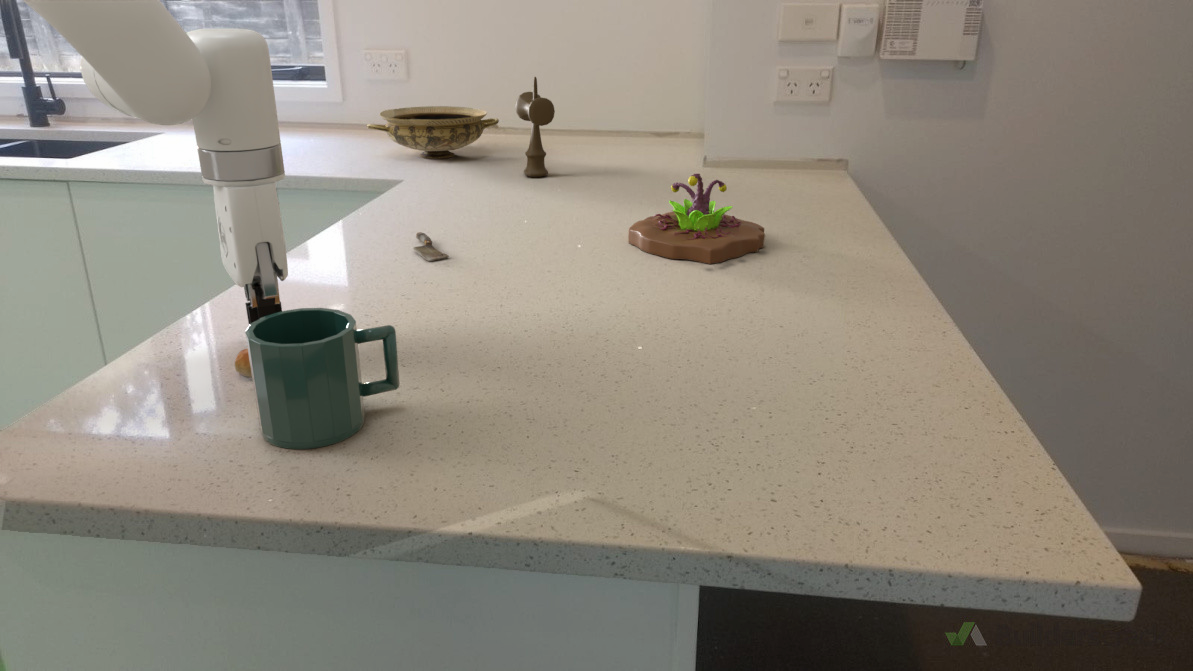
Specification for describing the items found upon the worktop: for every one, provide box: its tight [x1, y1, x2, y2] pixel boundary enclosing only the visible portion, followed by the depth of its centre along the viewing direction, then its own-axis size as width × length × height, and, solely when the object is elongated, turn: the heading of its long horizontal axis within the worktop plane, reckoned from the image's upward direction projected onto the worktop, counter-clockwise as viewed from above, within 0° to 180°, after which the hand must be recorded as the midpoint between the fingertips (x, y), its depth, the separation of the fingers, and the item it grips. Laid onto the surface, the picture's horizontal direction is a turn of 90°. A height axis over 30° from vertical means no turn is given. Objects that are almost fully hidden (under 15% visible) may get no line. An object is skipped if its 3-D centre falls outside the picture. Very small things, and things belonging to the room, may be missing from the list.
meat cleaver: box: [412, 231, 449, 262], centre depth 125 cm, size 12×1×5 cm
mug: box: [244, 307, 401, 450], centre depth 74 cm, size 12×9×10 cm
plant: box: [627, 173, 766, 265], centre depth 129 cm, size 20×20×11 cm
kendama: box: [515, 76, 556, 178], centre depth 172 cm, size 6×10×20 cm, turn 21°
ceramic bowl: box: [366, 105, 499, 159], centre depth 192 cm, size 30×24×10 cm
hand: (268, 337), depth 88 cm, fingers closed
